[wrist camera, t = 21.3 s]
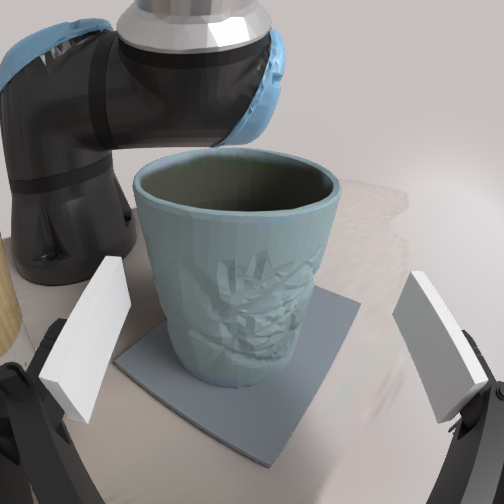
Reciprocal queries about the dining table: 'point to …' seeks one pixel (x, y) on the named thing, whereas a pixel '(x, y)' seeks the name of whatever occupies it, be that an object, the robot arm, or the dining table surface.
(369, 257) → the dining table surface
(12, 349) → the coffee cup
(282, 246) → the embossed teal cup
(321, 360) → the slate mat
